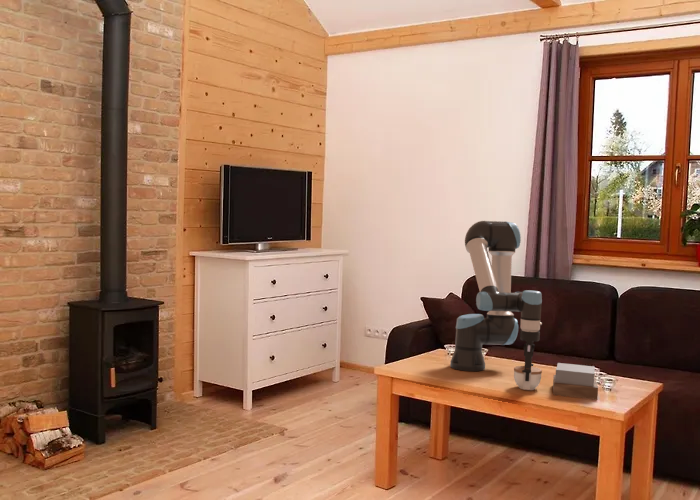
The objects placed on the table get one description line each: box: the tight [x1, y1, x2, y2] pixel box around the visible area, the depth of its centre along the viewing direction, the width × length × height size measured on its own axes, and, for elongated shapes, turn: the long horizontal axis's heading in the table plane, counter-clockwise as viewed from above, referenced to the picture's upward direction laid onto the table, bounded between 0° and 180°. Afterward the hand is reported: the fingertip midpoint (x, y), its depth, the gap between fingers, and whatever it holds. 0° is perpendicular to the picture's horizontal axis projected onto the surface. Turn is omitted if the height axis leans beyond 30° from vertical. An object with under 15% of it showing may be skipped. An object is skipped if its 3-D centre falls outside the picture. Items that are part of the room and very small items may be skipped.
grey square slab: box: [555, 362, 596, 387], centre depth 287 cm, size 14×14×5 cm
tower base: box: [552, 374, 599, 400], centre depth 287 cm, size 16×16×5 cm
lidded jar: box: [513, 365, 543, 391], centre depth 290 cm, size 11×11×9 cm
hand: (526, 385), depth 290 cm, fingers open, 11 cm apart
